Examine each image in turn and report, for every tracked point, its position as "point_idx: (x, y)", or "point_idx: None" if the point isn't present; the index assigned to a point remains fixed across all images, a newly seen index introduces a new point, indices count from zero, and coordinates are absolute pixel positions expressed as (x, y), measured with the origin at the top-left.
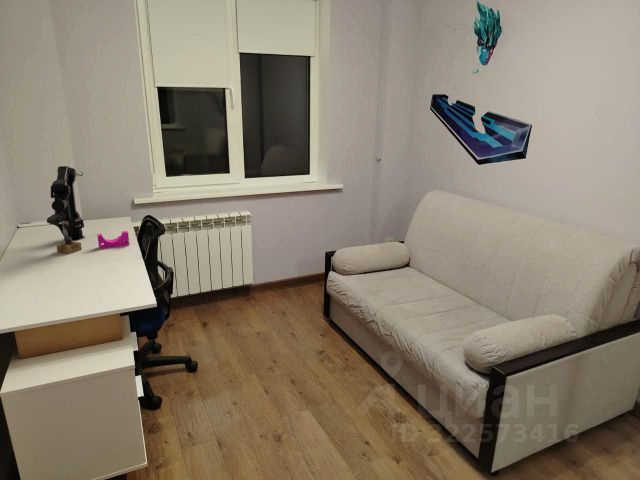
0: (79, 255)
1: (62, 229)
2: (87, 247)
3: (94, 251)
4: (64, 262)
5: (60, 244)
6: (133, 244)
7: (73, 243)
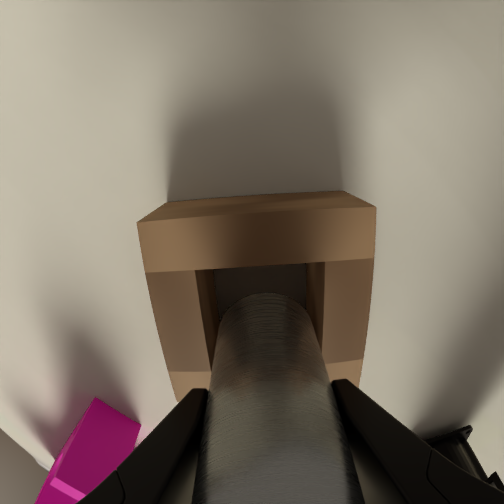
0: (52, 217)
1: (388, 501)
2: None
3: (62, 344)
4: (20, 39)
5: (344, 254)
6: None
7: None
